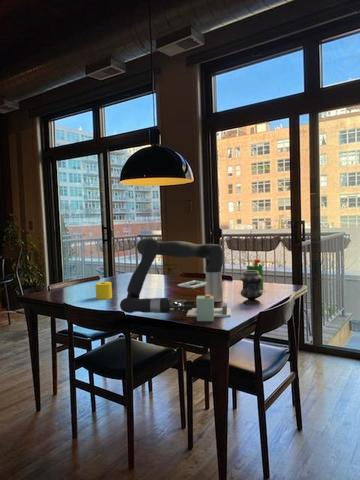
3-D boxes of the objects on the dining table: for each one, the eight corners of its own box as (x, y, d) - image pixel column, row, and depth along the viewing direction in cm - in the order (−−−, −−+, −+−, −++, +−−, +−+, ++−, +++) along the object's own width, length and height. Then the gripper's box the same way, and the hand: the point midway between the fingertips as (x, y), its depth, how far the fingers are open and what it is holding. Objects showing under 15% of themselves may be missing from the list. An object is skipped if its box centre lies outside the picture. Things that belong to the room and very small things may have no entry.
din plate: (186, 316, 189) (186, 306, 188) (189, 310, 201) (189, 300, 201) (230, 316, 185) (230, 306, 185) (231, 310, 198) (230, 300, 197)
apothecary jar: (266, 302, 211) (266, 270, 209) (254, 306, 203) (253, 273, 201) (249, 299, 220) (248, 268, 218) (236, 303, 211) (235, 271, 210)
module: (196, 321, 180) (196, 296, 180) (198, 317, 186) (197, 293, 185) (213, 321, 179) (212, 296, 178) (214, 317, 185) (213, 293, 184)
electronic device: (193, 286, 256) (177, 283, 266) (193, 289, 256) (177, 287, 266) (209, 281, 269) (194, 279, 280) (210, 285, 270) (194, 282, 280)
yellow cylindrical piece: (111, 295, 245) (110, 281, 245) (113, 298, 236) (112, 283, 235) (95, 297, 242) (94, 282, 242) (96, 300, 233) (96, 285, 232)
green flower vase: (256, 286, 253) (255, 257, 252) (266, 288, 246) (265, 258, 244) (245, 289, 248) (244, 259, 246) (255, 291, 240) (254, 260, 239)
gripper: (157, 301, 179) (191, 301, 176) (163, 294, 193) (194, 294, 190) (158, 317, 179) (191, 317, 177) (163, 309, 193) (195, 308, 191)
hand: (193, 305), depth 183 cm, fingers open, 8 cm apart
